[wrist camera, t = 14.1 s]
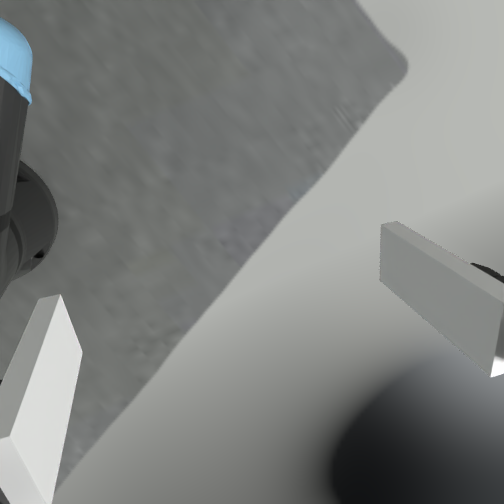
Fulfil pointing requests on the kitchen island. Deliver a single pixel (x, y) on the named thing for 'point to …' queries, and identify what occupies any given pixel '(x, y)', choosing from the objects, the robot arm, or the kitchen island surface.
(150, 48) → the kitchen island surface
